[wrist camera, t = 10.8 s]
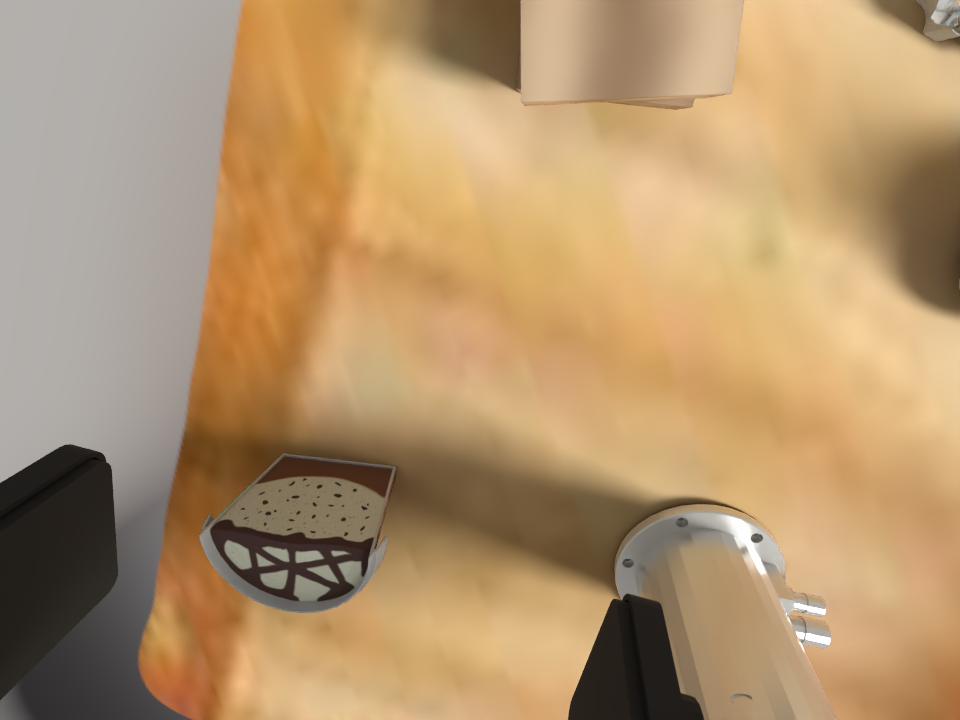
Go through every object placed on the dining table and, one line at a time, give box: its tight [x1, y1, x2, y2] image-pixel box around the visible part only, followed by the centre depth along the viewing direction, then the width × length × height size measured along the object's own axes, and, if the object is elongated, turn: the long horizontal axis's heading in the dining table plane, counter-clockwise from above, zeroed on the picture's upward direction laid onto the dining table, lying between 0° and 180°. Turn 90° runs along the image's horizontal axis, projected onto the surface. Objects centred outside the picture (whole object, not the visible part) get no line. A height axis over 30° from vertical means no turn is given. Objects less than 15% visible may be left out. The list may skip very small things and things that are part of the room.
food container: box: [199, 453, 397, 613], centre depth 41 cm, size 12×6×10 cm, turn 87°
